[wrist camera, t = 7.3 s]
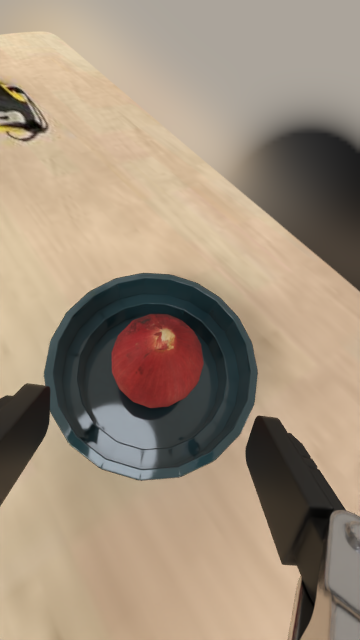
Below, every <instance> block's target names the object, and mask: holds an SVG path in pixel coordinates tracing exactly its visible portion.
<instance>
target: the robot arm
mask: <svg viewBox="0 0 360 640" xmlns="http://www.w3.org/2000/svg"><path fill="white" fill-rule="evenodd" d="M49 415H50V387H49V386H43V385H36V384H28V383H27V384H25V385H24V386H23V387H22V388H21V389H20V390H19V391H18V392H17V393H16V394H15V395H14V396H5V397H3V398H1V399H0V506H1V504H2V503H3V501H4V500H5V498H6V496H7V495H8V493H9V492H10V490H11V489H12V487H13V485H14V484H15V482H16V481H17V479H18V478H19V476H20V475H21V473H22V471H23V470H24V468H25V467H26V465H27V464H28V462H29V461H30V459H31V457H32V456H33V454H34V453H35V451H36V450H37V448H38V446H39V445H40V443H41V442H42V440H43V439H44V437H45V434H46V432H47V429H48V425H49ZM246 462H247V466H248V468H249V471H250V474H251V477H252V480H253V483H254V486H255V488H256V491H257V494H258V497H259V500H260V503H261V506H262V508H263V511H264V514H265V517H266V520H267V523H268V526H269V528H270V531H271V534H272V537H273V540H274V543H275V545H276V548H277V551H278V554H279V557H280V560H281V563H282V564H283V565H295V566H297V567H298V569H299V572H300V574H301V576H300V578H299V580H298V583H297V589H296V594H295V600H294V606H293V611H292V617H291V623H290V628H289V634H288V640H360V517H359V516H357V515H355V514H353V513H351V512H348V511H346V510H345V508H344V507H343V505H342V504H341V502H340V501H339V499H338V498H337V496H336V494H335V493H334V491H333V490H332V488H331V487H330V485H329V484H328V482H327V481H326V479H325V478H324V476H323V475H322V473H321V472H320V470H318V469H317V466H316V464H315V463H314V461H313V460H312V459H311V458H310V455H309V454H308V452H307V450H306V449H305V447H304V446H303V444H302V443H300V442H299V441H298V440H297V439H296V438H295V437H294V436H293V435H292V434H291V433H287V431H286V430H285V428H284V426H283V425H282V423H281V422H280V420H279V419H278V418H273V417H266V416H257V417H256V419H255V421H254V424H253V427H252V430H251V433H250V437H249V440H248V443H247V446H246Z"/></svg>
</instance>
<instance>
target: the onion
mask: <svg viewBox="0 0 360 640" xmlns="http://www.w3.org/2000/svg"><path fill="white" fill-rule="evenodd" d="M111 354H112V374H113V376H114V378H115V380H116V383H117V385H118V387H119V389H120V390H121V391H122V392H123V393H124V394H125V395H126V396H127V397H128V398H129V399H130V400H131V401H133V402H135V403H138V404H140V405H143V406H146V407H148V408H158V407H168V406H170V405H172V404H174V403H176V402H178V401H180V400H182V399H184V398H186V397H187V396H188V394H189V393H190V392H191V391H192V390H193V388H194V387H195V386H196V385H197V383H198V381H199V378H200V375H201V371H202V368H203V364H204V363H203V356H202V348H201V343H200V342H199V340H198V338H197V336H196V334H195V332H194V331H193V330H192V329H191V328H190V327H189V326H188V325H187V324H185V323H184V322H183V321H182V320H180V319H178V318H175V317H173V316H171V315H168V314H149V315H146V316H143V317H140V318H138V319H135V320H133V321H132V322H131V323H130V324H129V325H128V326H127V327H126V328H125V329H124V330H123V331H122V332H121V333H120V334H119V335H118V337H117V339H116V342H115V345H114V347H113V350H112V353H111Z"/></svg>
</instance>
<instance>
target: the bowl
mask: <svg viewBox="0 0 360 640" xmlns="http://www.w3.org/2000/svg"><path fill="white" fill-rule="evenodd" d="M149 314H168V315H171V316H173V317H175V318H178V319H180V320H182V321H183V322H184V323H185V324H187V325H188V326H189V327H190V328H191V329H192V330H193V331H194V332H195V334H196V336H197V338H198V340H199V342H200V343H201V348H202V356H203V363H204V364H203V368H202V371H201V375H200V378H199V381H198V383H197V385H196V386H195V387H194V388H193V390H192V391H191V392H190V393H189V394H188V396H187V397H186V398H184V399H182V400H180V401H178V402H176V403H174V404H172V405H170V406H168V407H158V408H148V407H146V406H143V405H140V404H138V403H135V402H133V401H131V400H130V399H129V398H128V397H127V396H126V395H125V394H124V393H123V392H122V391H121V390H120V389H119V387H118V385H117V383H116V380H115V378H114V376H113V374H112V354H111V353H112V350H113V347H114V345H115V342H116V339H117V337H118V335H119V334H120V333H121V332H122V331H123V330H124V329H125V328H126V327H127V326H128V325H129V324H130V323H131V322H132V321H133V320H135V319H138V318H140V317H143V316H146V315H149ZM257 375H258V371H257V366H256V361H255V355H254V350H253V345H252V342H251V340H250V338H249V336H248V334H247V332H246V330H245V328H244V326H243V325H242V323H241V321H240V319H239V318H238V316H237V315H236V314H235V313H234V312H233V311H232V310H231V309H230V308H229V307H228V305H227V304H226V303H225V302H224V301H223V300H222V299H221V298H219V296H217V295H215V294H214V293H212V292H211V291H209V290H207V289H206V288H204V287H203V286H201V285H200V284H198V283H196V282H193V281H190V280H186V279H183V278H180V277H177V276H174V275H170V274H154V273H140V274H135V275H130V276H125V277H120V278H116V279H113V280H111V281H109V282H107V283H105V284H103V285H101V286H99V287H97V288H95V289H93V290H91V291H90V292H88V293H87V294H86V295H85V296H84V297H83V298H82V299H81V300H80V301H78V302H77V303H76V304H75V305H74V306H73V307H72V308H71V309H70V310H69V311H68V312H67V313H66V314H65V316H64V318H63V320H62V321H61V323H60V325H59V327H58V328H57V330H56V332H55V334H54V335H53V337H52V339H51V341H50V345H49V350H48V355H47V361H46V366H45V371H44V379H45V386H49V387H50V412H51V414H52V416H53V418H54V419H55V421H56V423H57V424H58V426H59V428H60V430H61V431H62V433H63V435H64V436H65V438H66V440H67V442H68V443H69V444H70V445H71V446H72V447H73V448H75V449H76V450H77V451H78V452H80V453H81V454H82V455H83V456H85V457H86V458H87V459H88V460H90V461H91V462H92V463H94V464H95V465H96V466H97V467H99V468H101V469H102V470H105V471H109V472H112V473H116V474H119V475H122V476H126V477H129V478H132V479H136V480H141V481H142V480H155V479H167V478H179V477H182V476H184V475H186V474H188V473H190V472H192V471H194V470H196V469H199V468H201V467H203V466H205V465H207V464H209V463H211V462H213V461H214V460H216V459H217V458H218V457H219V456H220V455H221V454H222V453H223V452H224V451H225V450H226V449H227V448H228V447H229V446H230V445H231V444H232V443H233V442H234V440H235V439H236V438H237V437H238V436H239V435H240V434H241V432H242V430H243V427H244V425H245V423H246V421H247V419H248V417H249V414H250V412H251V410H252V408H253V406H254V402H255V393H256V384H257Z"/></svg>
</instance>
